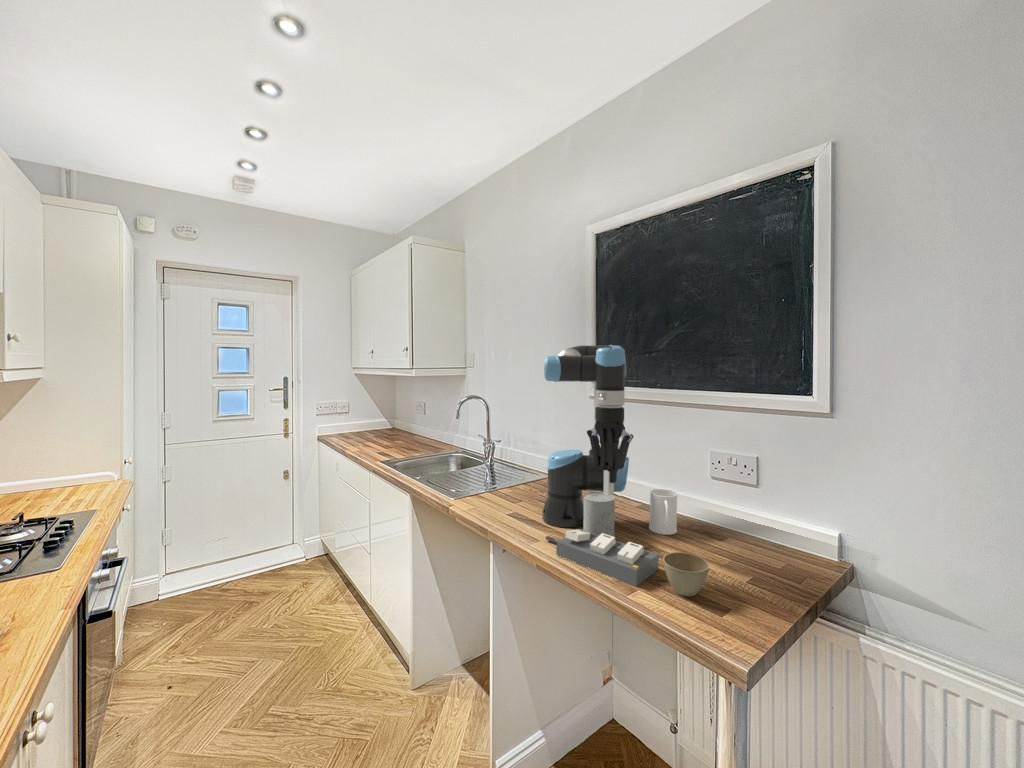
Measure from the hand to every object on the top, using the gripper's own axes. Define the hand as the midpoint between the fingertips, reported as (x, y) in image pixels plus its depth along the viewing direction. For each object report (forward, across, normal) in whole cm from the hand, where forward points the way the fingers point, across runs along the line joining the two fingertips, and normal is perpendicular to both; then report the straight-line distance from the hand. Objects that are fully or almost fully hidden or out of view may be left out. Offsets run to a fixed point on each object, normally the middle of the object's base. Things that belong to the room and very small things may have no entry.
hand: (608, 493), depth 117 cm
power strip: (+19, -4, -1) cm, 19 cm away
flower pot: (+19, +21, -1) cm, 28 cm away
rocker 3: (+13, +8, -2) cm, 15 cm away
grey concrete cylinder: (+19, -11, +13) cm, 25 cm away
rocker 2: (+13, 0, -2) cm, 13 cm away
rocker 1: (+13, -8, -2) cm, 15 cm away
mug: (+19, +2, +30) cm, 35 cm away
